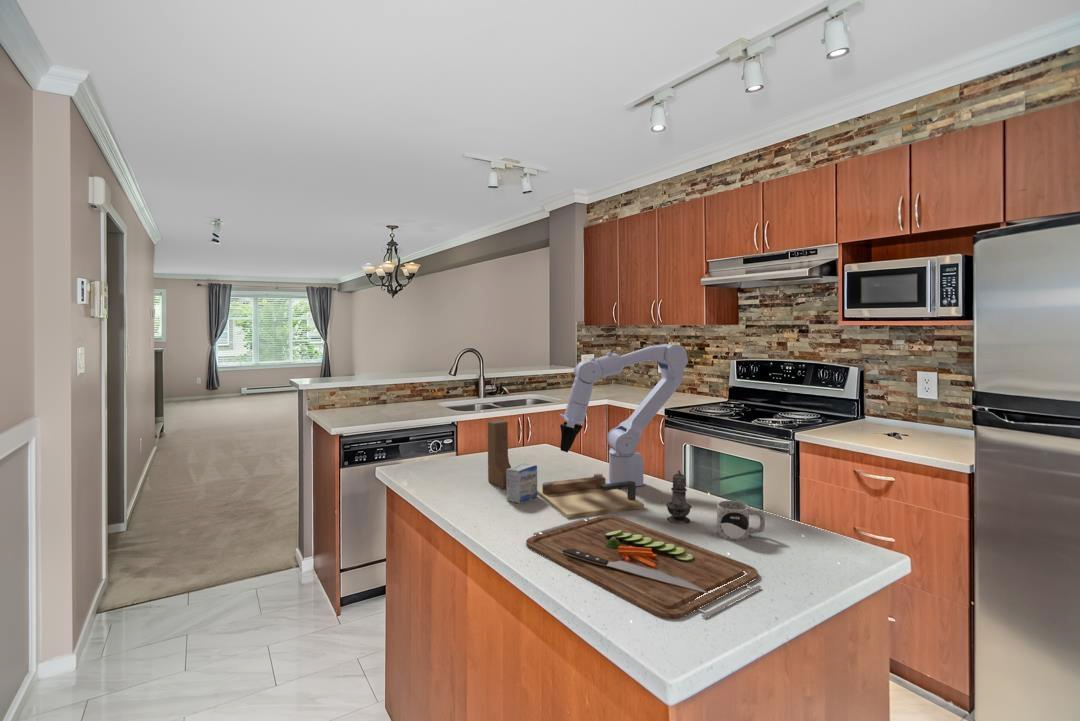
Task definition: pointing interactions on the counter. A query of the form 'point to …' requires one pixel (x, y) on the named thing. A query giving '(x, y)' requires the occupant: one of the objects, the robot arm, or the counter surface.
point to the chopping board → (643, 565)
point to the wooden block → (498, 452)
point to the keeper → (620, 485)
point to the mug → (736, 520)
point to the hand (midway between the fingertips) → (565, 449)
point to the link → (573, 484)
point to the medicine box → (521, 482)
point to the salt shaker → (678, 501)
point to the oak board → (590, 502)
